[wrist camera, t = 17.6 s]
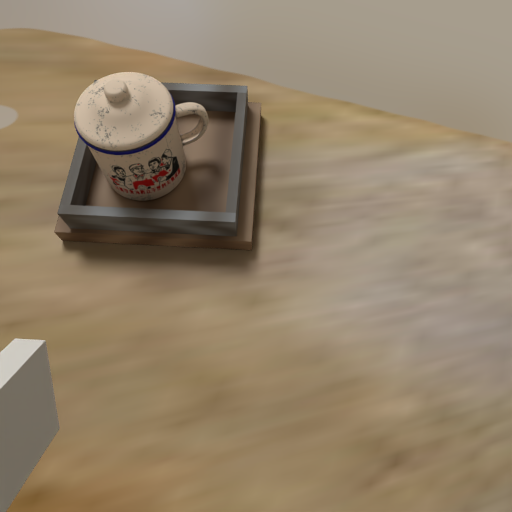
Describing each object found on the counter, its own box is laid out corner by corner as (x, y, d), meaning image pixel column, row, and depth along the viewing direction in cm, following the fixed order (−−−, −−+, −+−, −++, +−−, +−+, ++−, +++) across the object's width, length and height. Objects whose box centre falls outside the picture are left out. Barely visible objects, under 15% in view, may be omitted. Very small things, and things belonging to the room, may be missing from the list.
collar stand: (261, 114, 52) (261, 82, 48) (251, 250, 45) (250, 227, 41) (97, 108, 53) (82, 76, 49) (62, 240, 46) (40, 217, 41)
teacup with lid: (114, 215, 45) (70, 142, 34) (97, 147, 48) (51, 62, 38) (225, 181, 46) (215, 101, 36) (200, 118, 50) (184, 28, 39)
